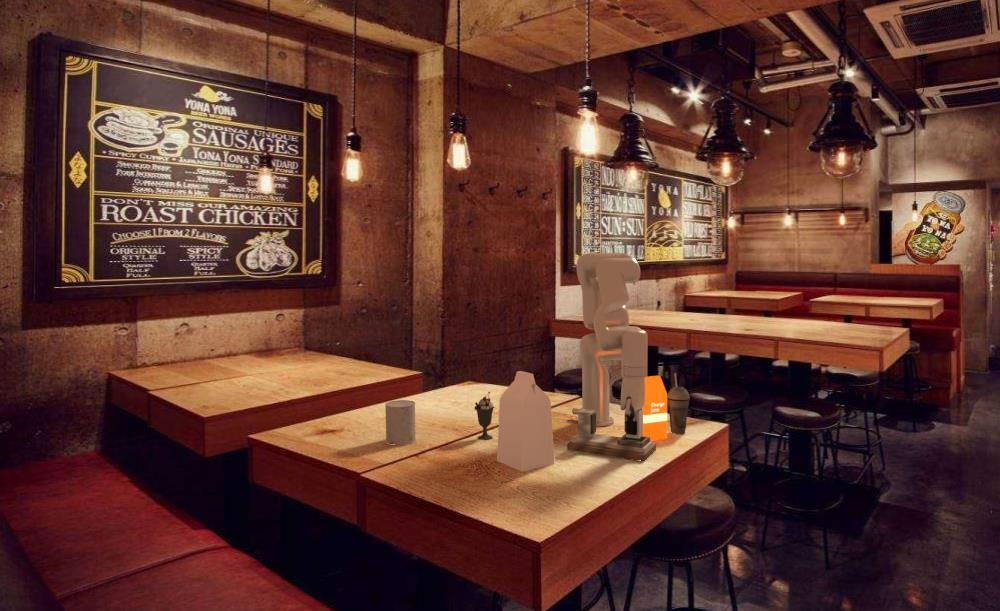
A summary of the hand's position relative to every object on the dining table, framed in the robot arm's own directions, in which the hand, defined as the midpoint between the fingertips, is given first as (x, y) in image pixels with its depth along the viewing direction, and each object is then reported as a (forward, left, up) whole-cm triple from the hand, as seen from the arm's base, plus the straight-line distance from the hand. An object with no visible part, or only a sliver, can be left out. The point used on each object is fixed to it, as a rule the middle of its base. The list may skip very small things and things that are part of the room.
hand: (633, 431), depth 189 cm
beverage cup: (+6, +29, -7) cm, 30 cm away
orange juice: (-1, +19, -7) cm, 20 cm away
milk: (-25, -22, -7) cm, 34 cm away
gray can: (-70, -22, -7) cm, 74 cm away
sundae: (-48, -6, -7) cm, 49 cm away
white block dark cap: (0, 0, -1) cm, 1 cm away
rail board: (-7, 0, -7) cm, 10 cm away
